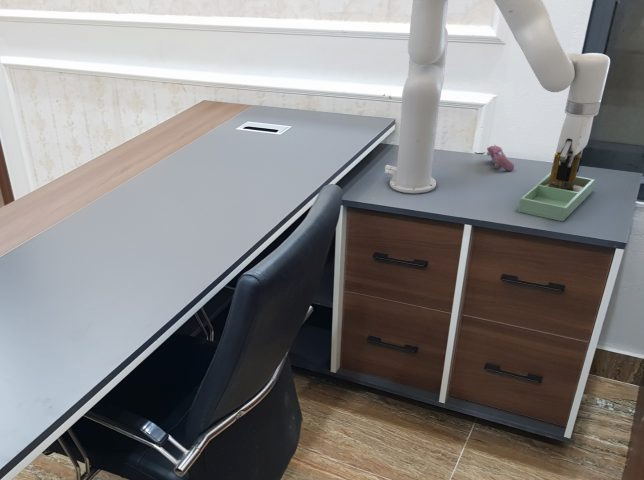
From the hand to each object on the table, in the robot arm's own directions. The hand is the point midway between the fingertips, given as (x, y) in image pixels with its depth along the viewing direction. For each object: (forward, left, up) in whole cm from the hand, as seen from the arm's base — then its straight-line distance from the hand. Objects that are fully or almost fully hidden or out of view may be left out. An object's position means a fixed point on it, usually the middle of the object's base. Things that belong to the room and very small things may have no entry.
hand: (567, 175), depth 188 cm
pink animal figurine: (-22, +12, -6) cm, 26 cm away
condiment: (0, 0, -4) cm, 4 cm away
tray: (0, -5, -6) cm, 8 cm away
